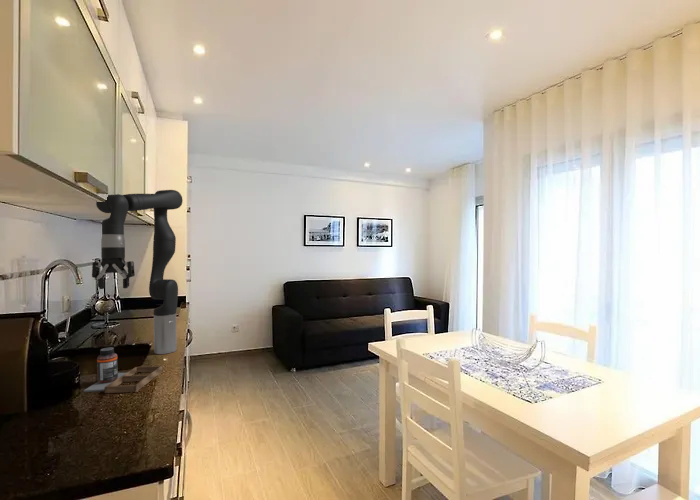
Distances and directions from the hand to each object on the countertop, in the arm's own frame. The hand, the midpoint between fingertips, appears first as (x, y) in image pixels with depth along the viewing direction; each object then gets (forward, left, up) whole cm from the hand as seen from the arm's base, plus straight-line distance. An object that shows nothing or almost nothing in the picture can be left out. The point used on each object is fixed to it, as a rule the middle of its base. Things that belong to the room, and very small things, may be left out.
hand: (113, 288), depth 134 cm
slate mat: (+12, +4, -32) cm, 34 cm away
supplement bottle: (+11, +4, -32) cm, 34 cm away
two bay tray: (+12, +13, -32) cm, 37 cm away
